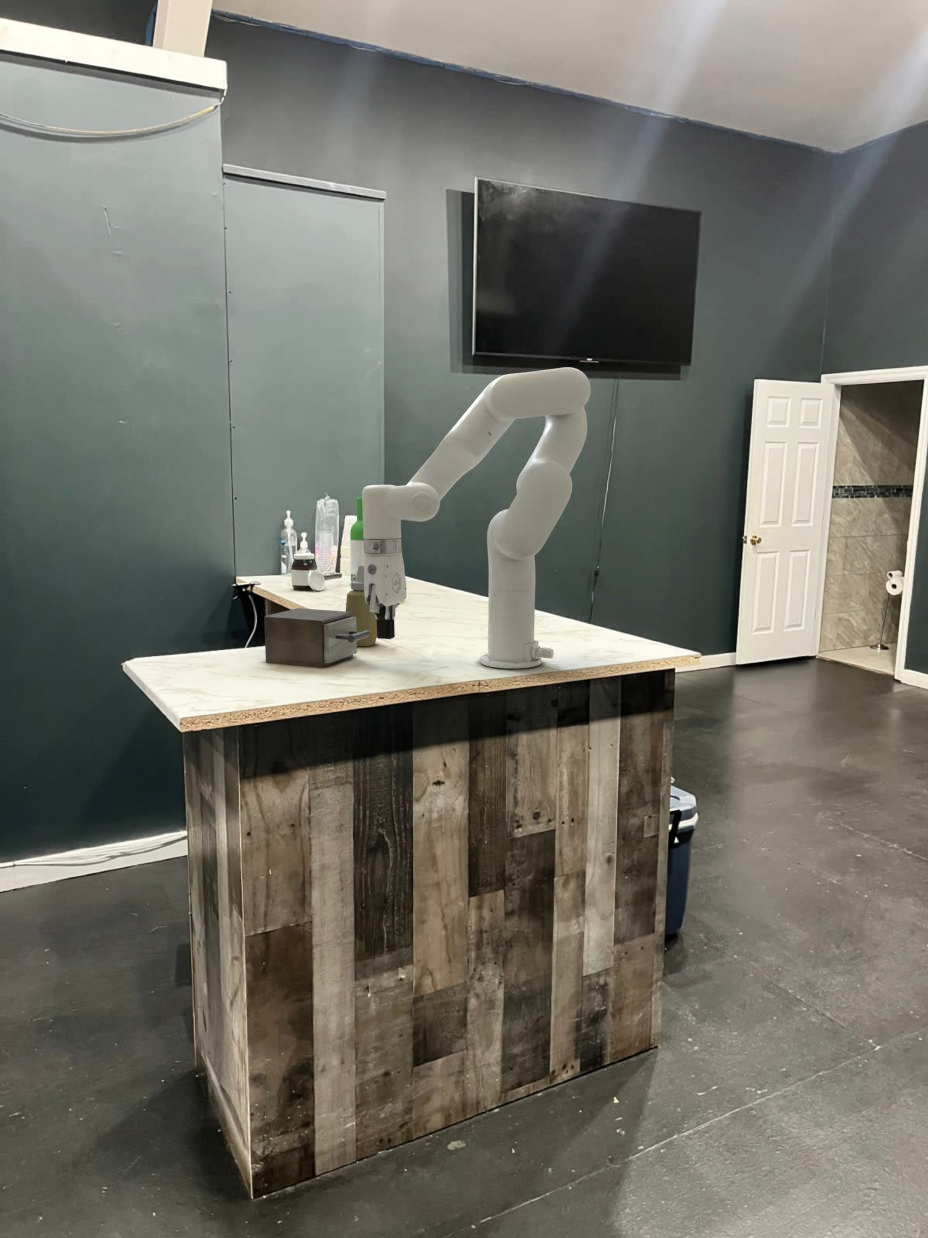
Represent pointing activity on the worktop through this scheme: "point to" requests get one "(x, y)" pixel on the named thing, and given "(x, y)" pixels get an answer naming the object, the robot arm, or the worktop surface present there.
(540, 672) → the worktop surface
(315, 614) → the cabinet
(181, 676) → the worktop surface
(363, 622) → the squeeze bottle
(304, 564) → the spread jar
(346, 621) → the drawer
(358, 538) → the wine bottle
